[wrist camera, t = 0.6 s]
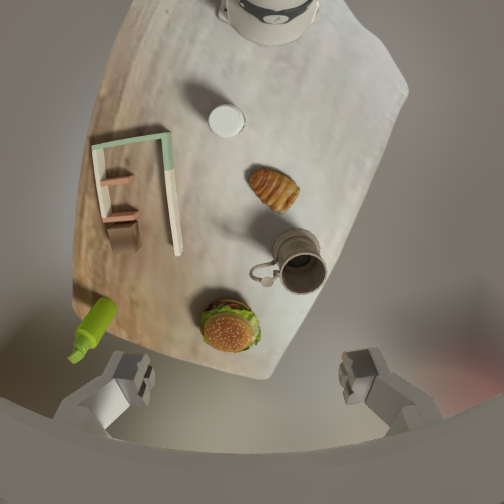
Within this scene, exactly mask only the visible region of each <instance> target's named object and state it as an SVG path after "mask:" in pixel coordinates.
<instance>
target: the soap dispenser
mask: <svg viewBox="0 0 504 504" xmlns="http://www.w3.org/2000/svg"><path fill="white" fill-rule="evenodd" d="M116 312H117V308H116V305H115V304H114V302H113V301H112V300H110V299H109V298H106V297H101V298H99V299H98V300H97V302H96V303H95V304H94V306H93V307H92V308H91V310H90V311H89V313H88V314H87V315H86V317H85V318H84V320H83V321H82V323H81V324H80V325H79V327H78V328H77V330H76V331H75V337H76V341H75V343H74V344H73V348H74V351H73V353H72V355H70V356H68V359H69V360H70V361H71V362H72V363H73V364H74V363H76V362H78V361H79V360H81V359H82V358H83V357H84V356H85V355H84V354H85V353H86V352H87V350H88V348H90V349H93V348H95V347H96V346H97V344H98V342H99V340H100V338H101V337H102V335H103V333H104V332H105V330H106V329H107V327H108V325H109V324H110V322H111V320H112V319H113V317H114V315H115V314H116Z"/></svg>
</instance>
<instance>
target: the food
mask: <svg viewBox="0 0 504 504" xmlns="http://www.w3.org/2000/svg"><path fill="white" fill-rule="evenodd" d="M200 332H201V334H202V335H203V339H204V342H205V343H207V344H209V345H210V346H212V347H213V348H215V349H217V350H220V351H224V352H235V353H237V352H241V351H244V350H248V349H249V348H250V347H251V346H252V345H253V344H255V345H257V343H258V342H259V341H260V337H261V332H260V326H259V320H258V319H257V317H256V316H255V314H254V313H253V312H252V310H251V308H249V307H248V306H247V305H245V304H244V303H243V302H240V301H237V300H233V299H223V300H220V301H216V302H215V303H213V304H210V305H209V306H208V308H207V309H206V310H205V311H204V313H202V315H201V322H200Z"/></svg>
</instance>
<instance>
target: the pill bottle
mask: <svg viewBox="0 0 504 504" xmlns="http://www.w3.org/2000/svg"><path fill="white" fill-rule="evenodd" d="M208 125H209V128H210V130H211V132H212V133H213V134H215V135H216V136H218V137H221V138H231V137H233V136H235V135H237V134H239V133H240V132H241V131H242V130H243V128H244V126H245V116H244V114H243V112H242V111H241V110H240V109H239V108H238V107H236V106H234V105H232V104H222V105H219V106H217V107H216V108H215V109H213V111H212V112H211V113H210V115H209V118H208Z"/></svg>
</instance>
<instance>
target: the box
mask: <svg viewBox="0 0 504 504" xmlns="http://www.w3.org/2000/svg"><path fill="white" fill-rule="evenodd" d="M155 139H162V151H163V163H164V173H165V183H166V192H167V201H168V209H169V217H170V224H171V231H172V238H173V245H174V252H175V256H180V255H181V253H182V251H183V244H182V237H181V229H180V221H179V213H178V204H177V195H176V185H175V175H174V164H173V151H172V138H171V132H167V133H159V134H152V135H146V136H139V137H133V138H127V139H122V140H116V141H111V142H106V143H102V144H97V145H92V156H93V164H94V172H95V179H96V186H97V193H98V199H99V204H100V210H101V215H102V220H103V222H116V221H129V220H135V219H136V218H137V217H138V216H140V214H139V211H129V212H118V213H112V209H111V203H110V197H109V190H108V185H116V184H124V183H129V182H131V181H133V180H135V179H134V175H129V176H122V177H115V178H108V179H107V176H106V169H105V160H104V151H103V148H107V147H112V146H118V145H123V144H129V143H135V142H141V141H148V140H155Z"/></svg>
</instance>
